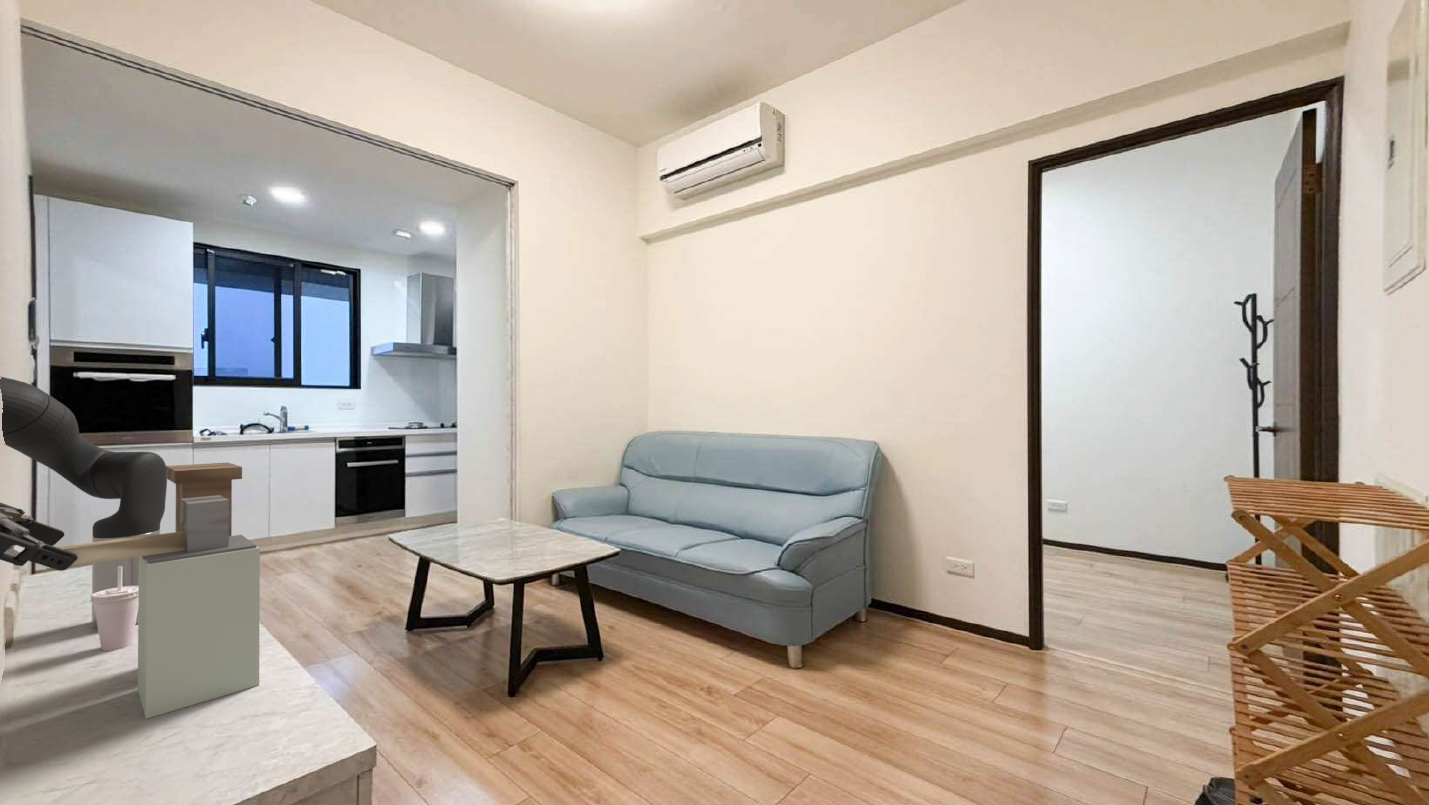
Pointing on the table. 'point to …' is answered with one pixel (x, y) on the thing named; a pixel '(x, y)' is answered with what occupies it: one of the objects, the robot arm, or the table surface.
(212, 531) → the hammer
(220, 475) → the wooden t-shaped stand
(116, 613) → the smoothie
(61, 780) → the table surface
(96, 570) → the robot arm
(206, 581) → the sage cabinet
